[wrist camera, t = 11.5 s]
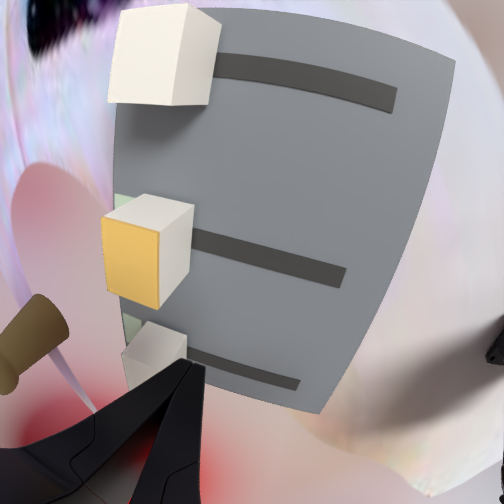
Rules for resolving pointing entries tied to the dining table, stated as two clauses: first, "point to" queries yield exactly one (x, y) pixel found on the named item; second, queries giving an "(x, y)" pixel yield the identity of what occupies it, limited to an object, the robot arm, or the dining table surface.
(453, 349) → the dining table surface
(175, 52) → the block
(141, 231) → the block
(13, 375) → the cork
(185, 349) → the block
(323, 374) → the panel
